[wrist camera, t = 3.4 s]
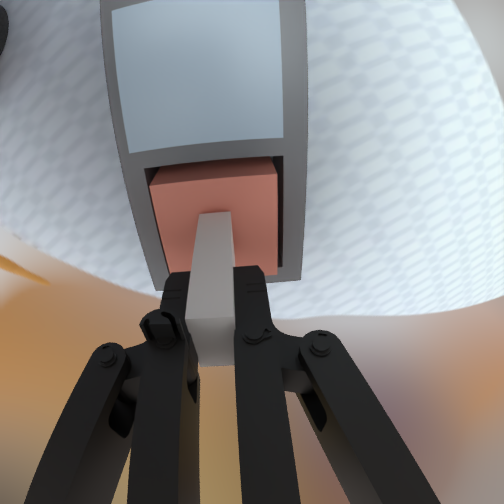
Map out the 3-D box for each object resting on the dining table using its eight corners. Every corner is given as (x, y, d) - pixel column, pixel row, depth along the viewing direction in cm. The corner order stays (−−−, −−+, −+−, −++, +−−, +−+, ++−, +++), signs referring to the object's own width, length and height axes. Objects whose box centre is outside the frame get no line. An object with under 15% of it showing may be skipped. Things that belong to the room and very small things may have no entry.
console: (130, -79, 8) (106, -107, 4) (277, -95, 8) (290, -129, 4) (167, 246, 23) (155, 290, 19) (287, 237, 23) (300, 280, 19)
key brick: (164, 159, 17) (149, 185, 13) (267, 149, 17) (277, 174, 13) (180, 243, 20) (172, 282, 17) (269, 236, 20) (277, 274, 17)
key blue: (140, 22, 10) (111, 10, 7) (265, 7, 10) (278, -12, 7) (152, 130, 14) (129, 153, 11) (269, 119, 14) (283, 137, 11)
